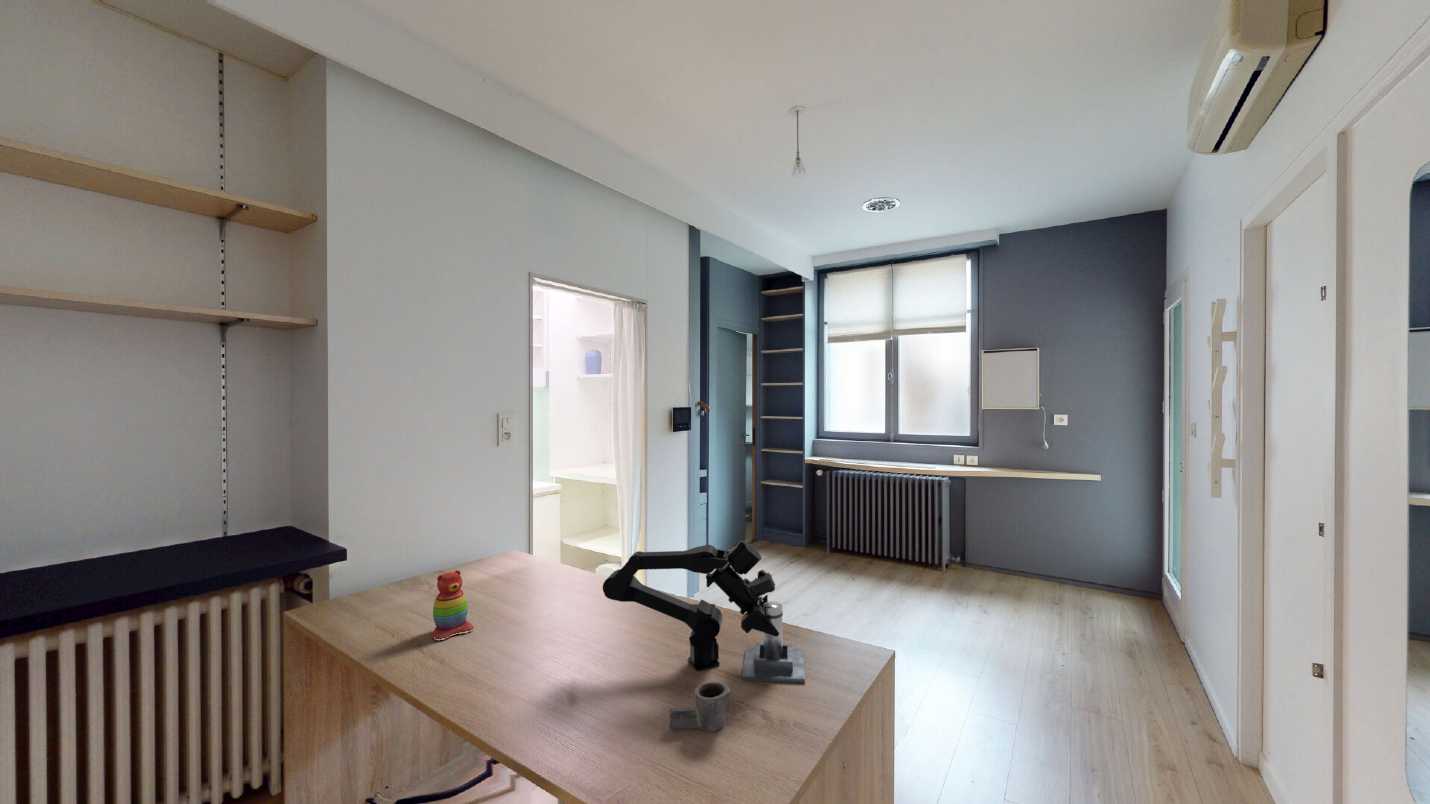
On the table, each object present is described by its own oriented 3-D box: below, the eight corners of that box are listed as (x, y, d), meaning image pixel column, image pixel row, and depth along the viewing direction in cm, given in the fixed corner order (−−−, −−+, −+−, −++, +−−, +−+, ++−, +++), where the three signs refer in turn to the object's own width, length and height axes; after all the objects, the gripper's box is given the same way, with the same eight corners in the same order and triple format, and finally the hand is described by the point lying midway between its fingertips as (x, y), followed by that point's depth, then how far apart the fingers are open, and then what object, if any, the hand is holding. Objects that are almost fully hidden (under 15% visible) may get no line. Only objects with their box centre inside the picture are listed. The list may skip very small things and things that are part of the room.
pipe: (669, 722, 111) (668, 684, 110) (729, 717, 112) (728, 680, 112) (669, 741, 104) (668, 701, 104) (732, 735, 106) (731, 696, 106)
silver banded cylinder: (769, 663, 129) (768, 610, 129) (759, 653, 134) (758, 603, 134) (787, 658, 131) (786, 607, 131) (777, 649, 136) (776, 600, 136)
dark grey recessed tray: (742, 680, 126) (741, 666, 126) (746, 650, 141) (746, 637, 141) (805, 683, 124) (804, 668, 124) (802, 652, 139) (802, 639, 139)
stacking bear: (436, 643, 150) (433, 581, 149) (427, 632, 157) (425, 573, 157) (475, 631, 157) (473, 572, 156) (465, 621, 164) (463, 564, 164)
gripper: (753, 577, 123) (802, 625, 122) (757, 553, 142) (799, 595, 141) (721, 609, 124) (768, 657, 123) (729, 581, 143) (770, 623, 142)
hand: (778, 630), depth 132 cm, fingers closed on silver banded cylinder, 5 cm apart
